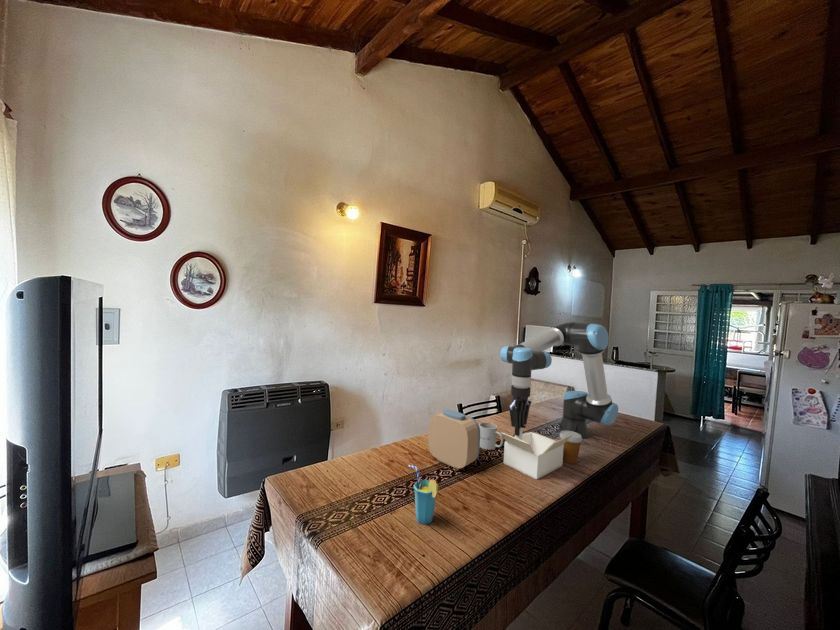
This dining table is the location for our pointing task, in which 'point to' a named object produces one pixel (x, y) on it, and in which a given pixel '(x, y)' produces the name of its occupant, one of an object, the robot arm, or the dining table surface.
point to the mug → (489, 436)
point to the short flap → (517, 442)
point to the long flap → (557, 444)
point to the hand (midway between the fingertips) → (518, 442)
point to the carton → (534, 456)
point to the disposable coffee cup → (571, 446)
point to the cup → (424, 498)
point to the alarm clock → (454, 438)
